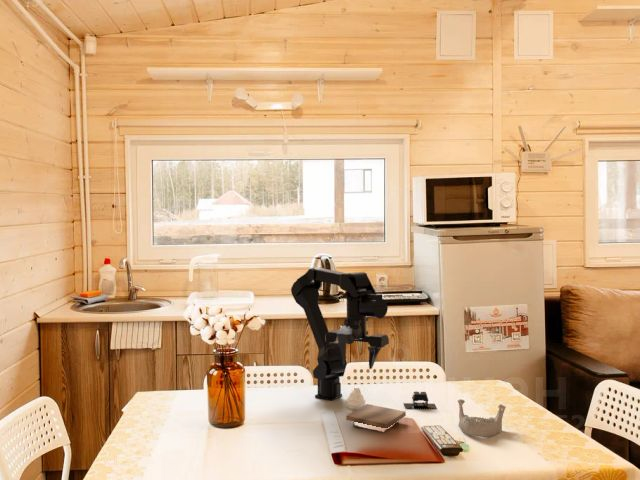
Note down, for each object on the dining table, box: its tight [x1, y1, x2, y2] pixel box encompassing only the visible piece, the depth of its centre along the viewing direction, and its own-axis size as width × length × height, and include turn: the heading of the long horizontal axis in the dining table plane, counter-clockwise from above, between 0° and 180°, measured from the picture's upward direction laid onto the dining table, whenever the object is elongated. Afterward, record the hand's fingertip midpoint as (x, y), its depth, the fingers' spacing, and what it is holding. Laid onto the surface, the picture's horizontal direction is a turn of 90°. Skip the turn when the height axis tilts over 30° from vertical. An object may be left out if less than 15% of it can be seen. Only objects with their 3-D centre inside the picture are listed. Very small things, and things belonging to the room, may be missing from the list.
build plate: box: [403, 391, 438, 411], centre depth 184 cm, size 12×7×5 cm, turn 88°
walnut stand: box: [345, 403, 407, 428], centre depth 168 cm, size 12×12×3 cm
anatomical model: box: [457, 399, 507, 438], centre depth 164 cm, size 13×11×10 cm
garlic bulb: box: [346, 386, 366, 410], centre depth 183 cm, size 6×6×5 cm
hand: (356, 367), depth 183 cm, fingers open, 9 cm apart
